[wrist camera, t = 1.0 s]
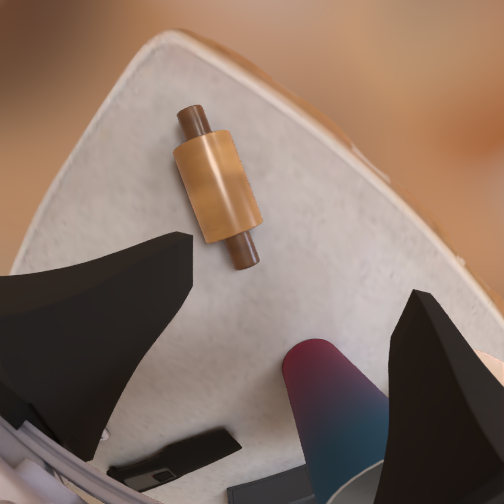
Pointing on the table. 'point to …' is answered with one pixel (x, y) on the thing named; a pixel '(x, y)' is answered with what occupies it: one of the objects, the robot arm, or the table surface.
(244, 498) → the tin
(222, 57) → the table surface
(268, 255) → the table surface
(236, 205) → the rolling pin
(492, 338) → the table surface
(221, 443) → the electric trimmer
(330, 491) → the cup
